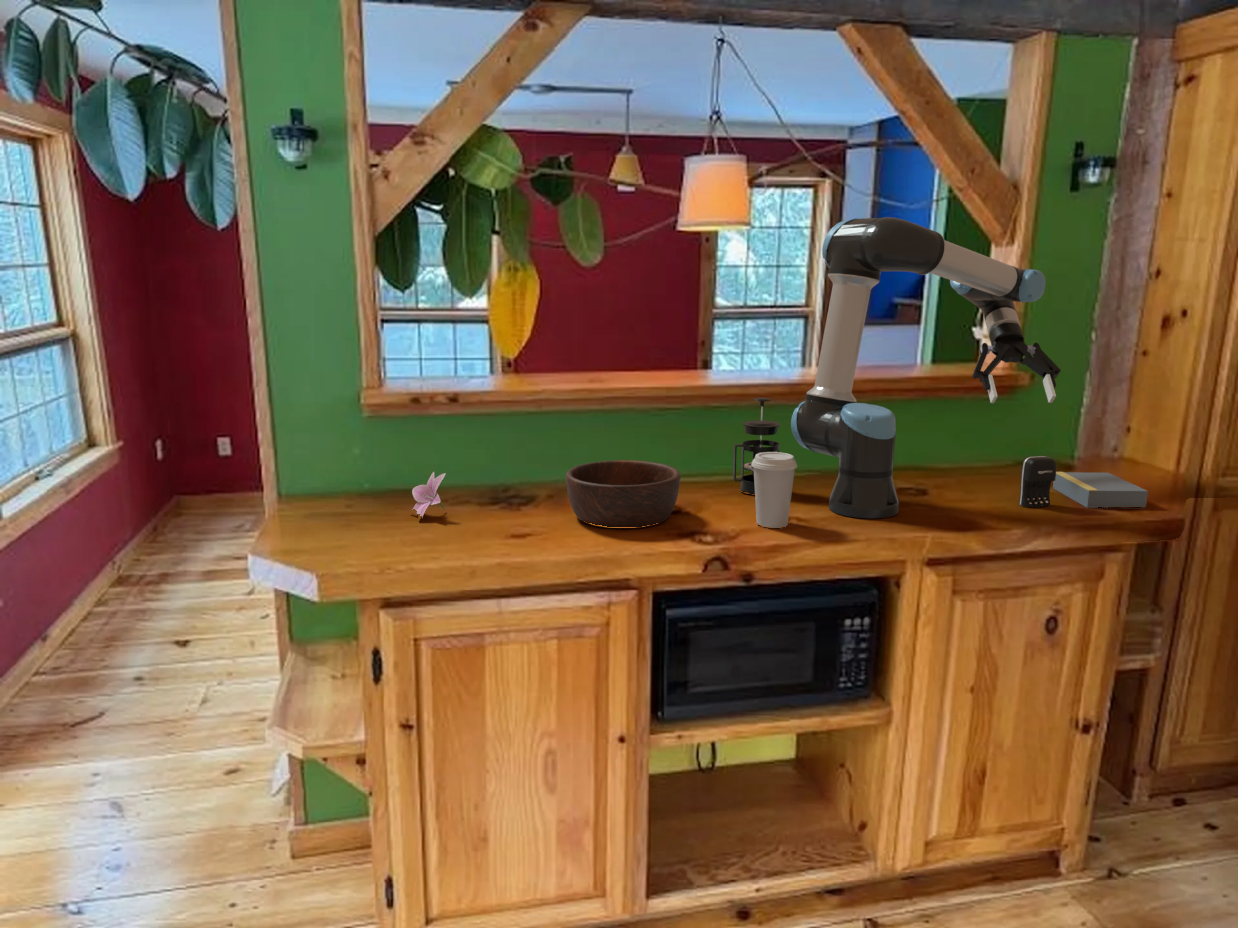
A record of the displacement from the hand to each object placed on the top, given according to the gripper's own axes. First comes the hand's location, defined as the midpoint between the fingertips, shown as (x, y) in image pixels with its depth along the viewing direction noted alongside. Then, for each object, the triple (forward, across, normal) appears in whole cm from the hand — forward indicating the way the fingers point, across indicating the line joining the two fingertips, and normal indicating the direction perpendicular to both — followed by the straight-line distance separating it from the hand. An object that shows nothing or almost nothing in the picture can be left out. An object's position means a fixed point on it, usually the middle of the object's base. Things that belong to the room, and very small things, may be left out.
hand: (1023, 399), depth 212 cm
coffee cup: (+36, +62, +5) cm, 73 cm away
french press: (+17, +62, -15) cm, 66 cm away
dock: (+20, -17, -12) cm, 29 cm away
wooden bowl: (+33, +94, +2) cm, 100 cm away
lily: (+33, +138, +2) cm, 141 cm away
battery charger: (+26, 0, -6) cm, 26 cm away
